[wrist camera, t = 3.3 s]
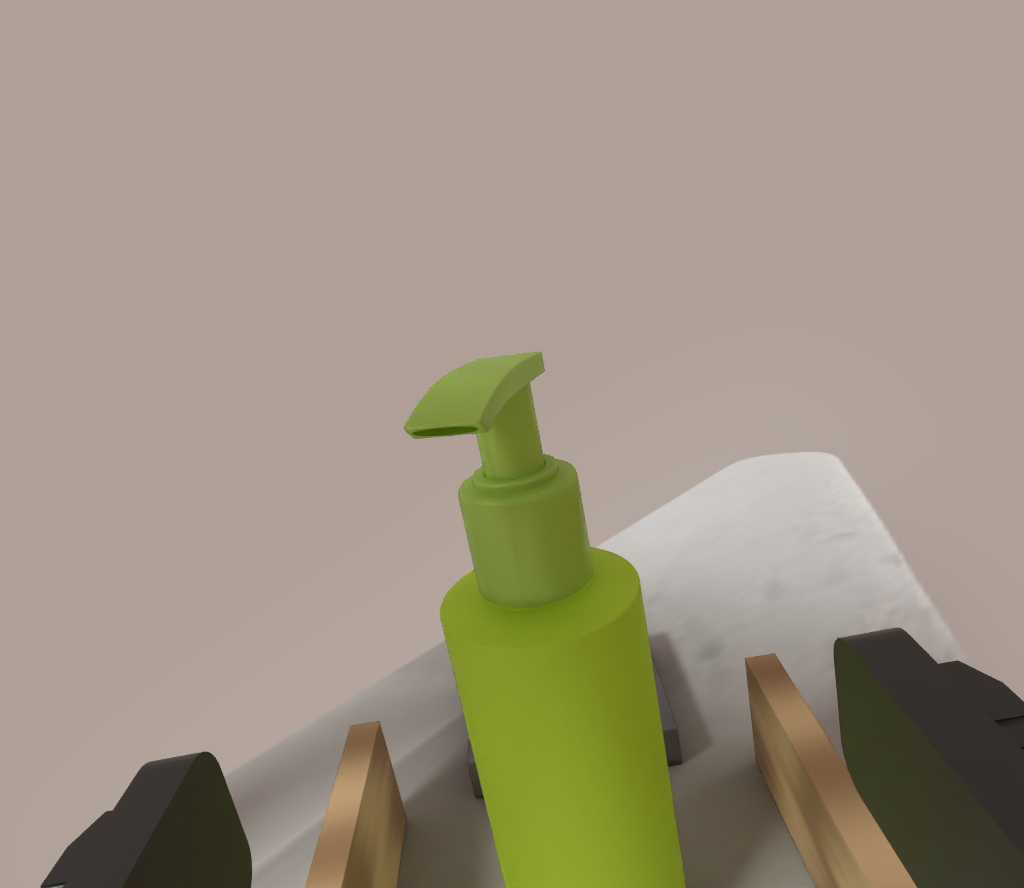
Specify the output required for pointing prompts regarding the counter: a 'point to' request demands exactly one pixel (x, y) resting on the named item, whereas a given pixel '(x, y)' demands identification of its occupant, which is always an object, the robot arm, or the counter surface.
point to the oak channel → (779, 754)
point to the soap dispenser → (550, 655)
